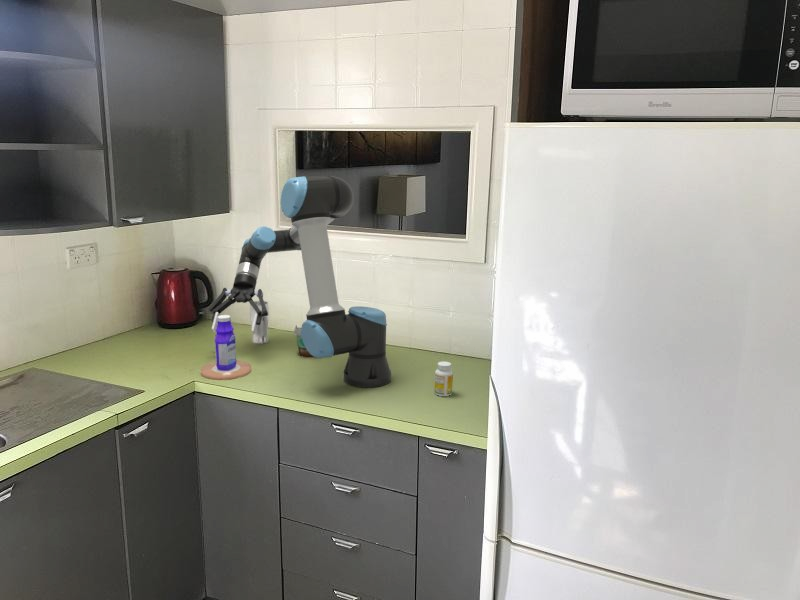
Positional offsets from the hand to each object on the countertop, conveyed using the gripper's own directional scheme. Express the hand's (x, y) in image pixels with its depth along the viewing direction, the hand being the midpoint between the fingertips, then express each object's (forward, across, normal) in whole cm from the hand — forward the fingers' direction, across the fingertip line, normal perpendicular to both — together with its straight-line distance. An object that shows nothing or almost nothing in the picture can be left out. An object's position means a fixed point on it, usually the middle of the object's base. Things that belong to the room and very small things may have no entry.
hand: (233, 331), depth 219 cm
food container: (0, -23, -15) cm, 28 cm away
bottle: (+13, 0, -1) cm, 13 cm away
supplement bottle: (+21, -71, +6) cm, 74 cm away
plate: (+14, 0, -2) cm, 14 cm away
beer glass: (-9, -2, -25) cm, 26 cm away
